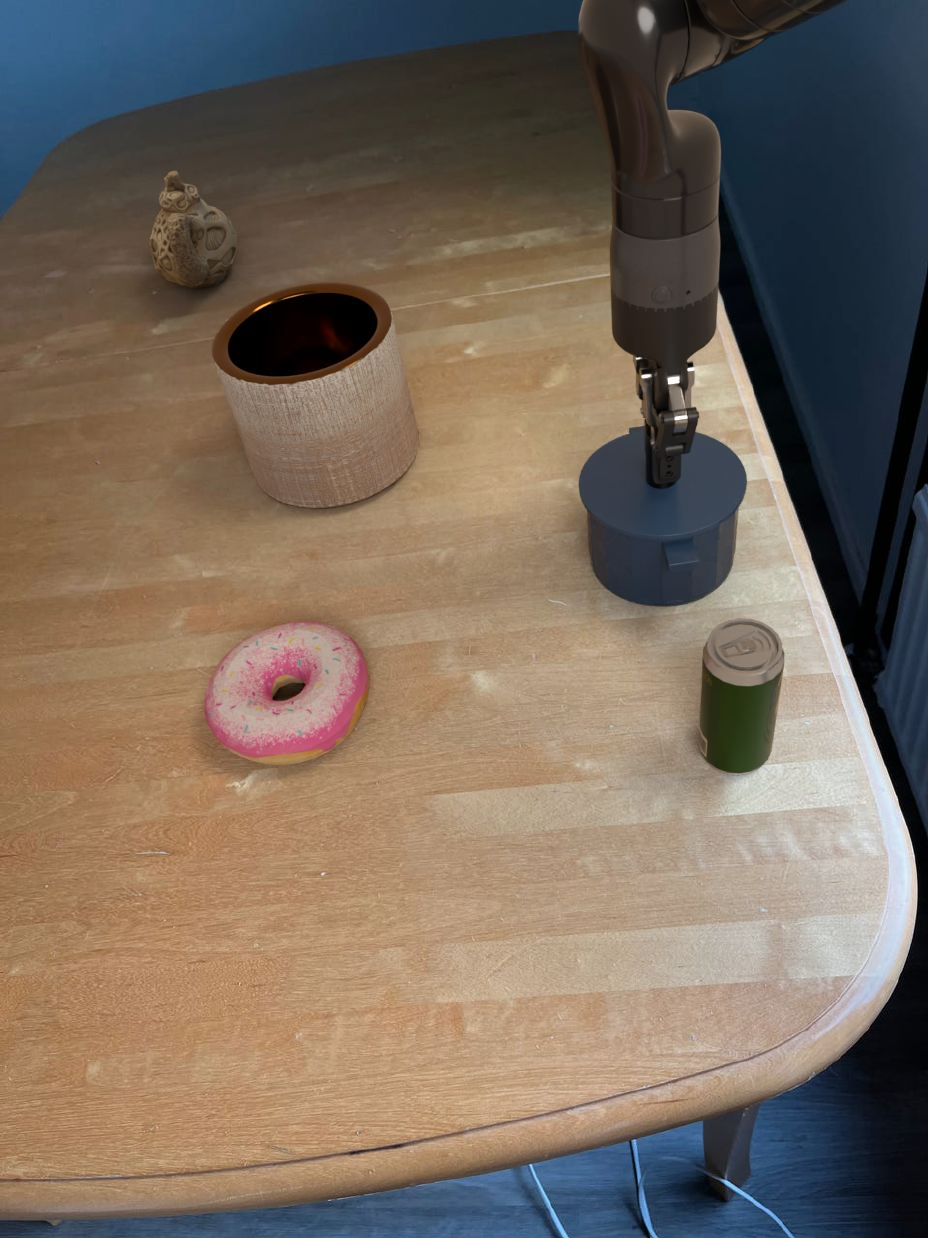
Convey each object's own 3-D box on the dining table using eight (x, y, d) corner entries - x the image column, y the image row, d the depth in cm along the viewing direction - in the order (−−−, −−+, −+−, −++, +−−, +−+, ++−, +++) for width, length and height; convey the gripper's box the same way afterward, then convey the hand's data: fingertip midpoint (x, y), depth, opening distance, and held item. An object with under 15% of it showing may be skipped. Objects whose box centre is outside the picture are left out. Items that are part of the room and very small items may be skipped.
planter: (424, 401, 113) (399, 270, 101) (416, 507, 101) (386, 373, 89) (269, 416, 115) (227, 290, 103) (242, 523, 103) (192, 393, 91)
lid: (724, 427, 90) (727, 369, 86) (765, 531, 81) (772, 472, 77) (569, 450, 91) (564, 393, 87) (592, 556, 82) (588, 499, 77)
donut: (209, 788, 81) (188, 752, 78) (223, 661, 90) (205, 623, 87) (376, 763, 81) (363, 726, 77) (372, 638, 90) (361, 599, 86)
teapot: (162, 257, 145) (122, 150, 134) (241, 237, 146) (208, 130, 135) (167, 333, 131) (122, 220, 120) (255, 311, 131) (219, 197, 120)
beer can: (715, 788, 75) (724, 686, 66) (686, 732, 79) (690, 628, 70) (784, 766, 75) (801, 662, 67) (751, 712, 79) (763, 606, 70)
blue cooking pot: (708, 481, 98) (712, 408, 92) (757, 618, 85) (765, 544, 79) (577, 500, 98) (572, 429, 92) (607, 639, 86) (604, 567, 80)
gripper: (742, 319, 67) (728, 516, 79) (695, 220, 76) (689, 410, 89) (628, 337, 67) (632, 530, 80) (595, 236, 77) (603, 423, 89)
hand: (662, 466), depth 84 cm, fingers closed on lid, 2 cm apart
